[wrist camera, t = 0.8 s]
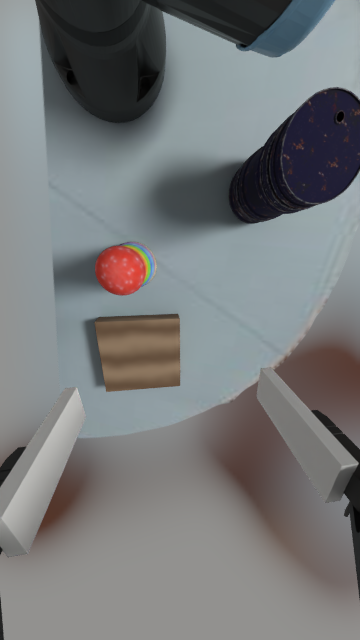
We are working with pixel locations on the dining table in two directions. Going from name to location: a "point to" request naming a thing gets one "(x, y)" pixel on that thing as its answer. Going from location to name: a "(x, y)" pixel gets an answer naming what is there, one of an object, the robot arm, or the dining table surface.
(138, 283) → the stacking toy
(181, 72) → the dining table surface
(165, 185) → the dining table surface
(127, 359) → the walnut base
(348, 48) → the dining table surface
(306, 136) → the storage jar
